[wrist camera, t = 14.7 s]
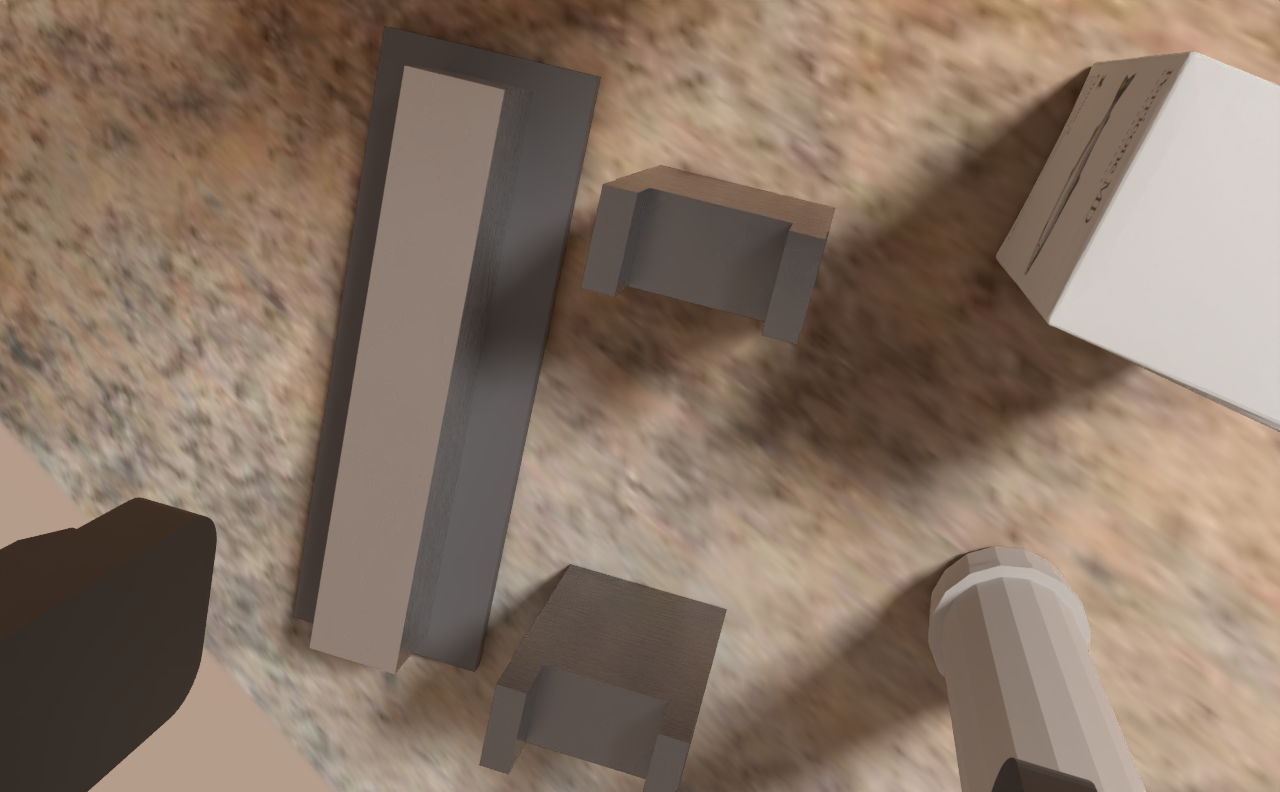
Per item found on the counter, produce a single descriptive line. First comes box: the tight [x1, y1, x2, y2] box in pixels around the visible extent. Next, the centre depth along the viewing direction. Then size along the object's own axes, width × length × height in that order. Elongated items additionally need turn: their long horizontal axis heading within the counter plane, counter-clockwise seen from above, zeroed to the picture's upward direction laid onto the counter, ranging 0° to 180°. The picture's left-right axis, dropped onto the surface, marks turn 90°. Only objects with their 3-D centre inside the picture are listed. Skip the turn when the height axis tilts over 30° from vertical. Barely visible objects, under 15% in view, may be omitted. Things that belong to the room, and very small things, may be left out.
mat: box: [293, 26, 601, 672], centre depth 45 cm, size 24×8×1 cm, turn 167°
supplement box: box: [996, 51, 1280, 432], centre depth 33 cm, size 7×7×13 cm
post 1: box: [581, 165, 835, 344], centre depth 37 cm, size 3×6×10 cm, turn 77°
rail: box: [310, 66, 533, 674], centre depth 43 cm, size 22×4×4 cm, turn 167°
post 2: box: [480, 565, 726, 792], centre depth 42 cm, size 3×6×10 cm, turn 77°
